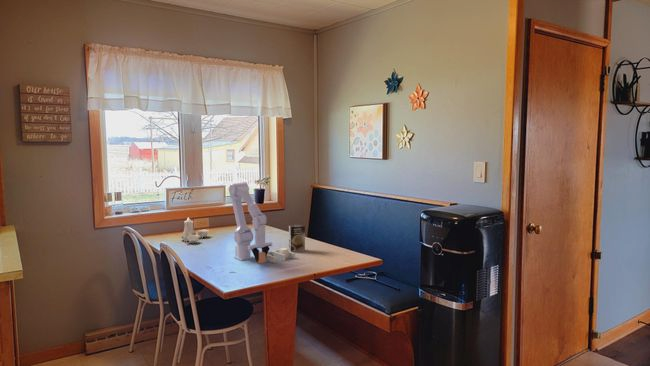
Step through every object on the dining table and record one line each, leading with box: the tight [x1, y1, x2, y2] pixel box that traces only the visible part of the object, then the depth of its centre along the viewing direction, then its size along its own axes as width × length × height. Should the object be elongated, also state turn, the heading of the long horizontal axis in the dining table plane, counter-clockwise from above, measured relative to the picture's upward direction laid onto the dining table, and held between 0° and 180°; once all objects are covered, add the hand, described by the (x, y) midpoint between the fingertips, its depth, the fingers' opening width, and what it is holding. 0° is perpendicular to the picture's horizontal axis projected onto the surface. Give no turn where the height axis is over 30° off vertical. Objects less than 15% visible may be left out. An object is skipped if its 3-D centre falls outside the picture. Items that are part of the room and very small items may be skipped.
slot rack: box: [266, 248, 297, 264], centre depth 250 cm, size 16×15×4 cm
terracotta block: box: [256, 250, 267, 264], centre depth 242 cm, size 4×4×6 cm
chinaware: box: [181, 217, 210, 244], centre depth 302 cm, size 28×17×17 cm, turn 179°
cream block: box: [278, 247, 289, 258], centre depth 252 cm, size 4×4×5 cm
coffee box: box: [288, 224, 306, 253], centre depth 268 cm, size 9×6×16 cm
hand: (260, 260), depth 243 cm, fingers closed on terracotta block, 4 cm apart
